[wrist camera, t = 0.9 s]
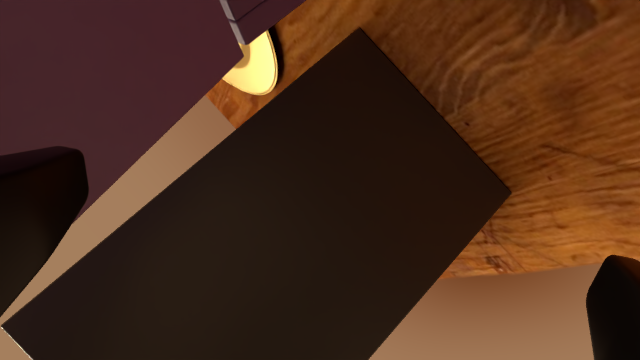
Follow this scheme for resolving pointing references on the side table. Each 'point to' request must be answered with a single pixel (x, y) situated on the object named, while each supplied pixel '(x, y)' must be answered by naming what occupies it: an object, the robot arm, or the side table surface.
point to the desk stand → (281, 232)
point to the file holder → (255, 16)
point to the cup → (255, 67)
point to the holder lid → (106, 75)
